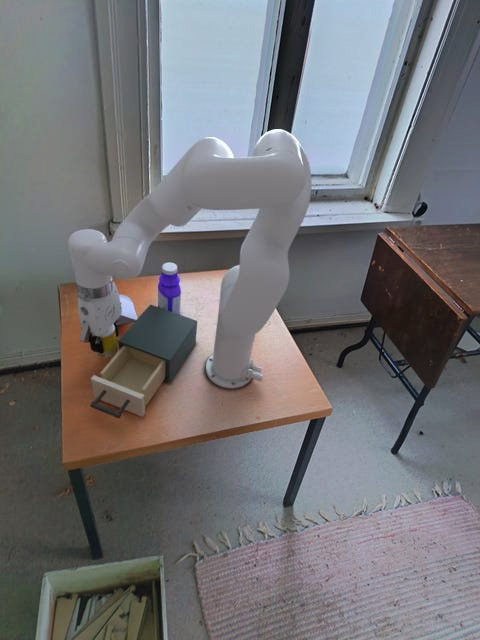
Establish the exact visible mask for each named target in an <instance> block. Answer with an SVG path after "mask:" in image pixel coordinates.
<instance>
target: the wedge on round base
mask: <svg viewBox="0 0 480 640" xmlns="http://www.w3.org/2000/svg"><path fill="white" fill-rule="evenodd" d="M119 297H120V302H121V308H122V313H121V315H120V317H119V318H118V323H117V326H120V325H125V324H130V323H131V324H133V323H134V322H135V321H136V320H137V319H138V318H139V316H138V315H137V312H136V309H135V306H134V303H133V301H132V299H131V298H130V296H129V297H128V296H127V295H124V294H119Z"/></svg>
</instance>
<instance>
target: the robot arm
mask: <svg viewBox="0 0 480 640" xmlns="http://www.w3.org/2000/svg"><path fill="white" fill-rule="evenodd" d="M311 195H312V173H311V166H310V162H309V159H308V157H307V154H306V151H305V150H304V148H303V146H302V145H301V143H300V142H299V140H298V139H297V138H296V137H295V136H294V135H293V134H292V133H290V132H289V131H286V130H284V129H278V128H277V129H271V130H269V131H267V132H264V134H263V135H262V136H260V138H259V139H258V141H257V142H256V144H255V146H254V149H253V151H252V156H242V157H240V156H239V157H234V154H233V152H232V149H230V147H229V145H228V144H226V143H225V142H224V141H223V140H221V139H220V138H217V137H213V136H208V137H204V138H201V139H199V140H198V141H196V142H195V143H194V144H192V146H191V147H190V148H189V149H188V150H187V151H186V152H185V153H184V154H183V156H182V157H181V158H180V159H179V160H178V162H177V163H176V164H175V165H174V166H172V168H171V169H170V171H169V172H168V173H167V174H166V175H165V176H164V177H163V178H162V180H161V181H160V182H159V183H158V184H157V185H156V187H155V188H154V189H153V190H152V191H151V192H149V193H148V194H147V195H146V196H145V197H144V198H142V199H141V200H140V202H138V204H136V205H135V207H134V208H133V209H132V210H131V211H130V212H129V214H128V215H127V216H126V217H125V218H124V219H123V221H122V222H121V223H120V224H119V225H118V227H117V228H116V230H115V232H114V234H113V236H112V238H111V240H110V241H108V239H107V237H106V236H105V234H104V233H103V232H101V231H100V230H97V229H93V228H83V229H79V230H76V231H75V232H73V233H71V235H69V237H68V240H67V246H68V247H67V248H68V253H69V256H70V261H71V267H72V271H73V276H74V280H75V284H76V289H77V294H76V296H77V310H78V318H79V319H78V320H79V323H80V324H79V325H80V328H81V332H80V335H79V338H78V341H79V342H81V343H86V344H88V343H89V345H90V350H91V351H92V352H98V353H101V354H103V352H104V349H103V343H102V341H101V340H100V336H101V335H103V334H104V333H105V332H106V331H107V330H108V329H109V328H110V327H111V326H112V325H113V324H114V326H115V332H116V338H117V337H119V336H120V334H119V327H118V325H117V323H118V318H119V317H120V315H121V313H122V308H121V302H120V297H119V295H120V294H119V290H118V287H117V285H116V283H115V281H113V277H114V278H117V279H121V280H133V279H134V278H137V277H138V276H139V275H140V274H141V272H142V270H143V267H144V264H145V261H146V257H147V254H148V251H149V248H150V246H151V244H152V243H153V241H154V240H156V239H157V238H158V236H159V235H160V234H161V233H162V232H163V231H164V230H166V228H168V227H169V226H170V225H171V226H173V227H179V228H180V227H184V226H186V225H187V224H188V223H189V222H190V221H191V220H192V219H194V217H195V216H196V215H197V214H198V213H199V212H200V211H201V210H203V209H204V210H208V211H209V210H210V211H234V210H235V211H238V210H258V212H257V214H256V216H255V219H254V220H253V222H252V225H251V226H250V229H249V230H248V233H247V235H246V237H245V238H244V240H243V242H242V244H241V247H240V251H239V264H238V265H234V266H233V267H231V268H229V270H227V272H225V274H224V276H223V278H222V279H221V280H222V281H221V284H220V295H219V302H218V303H219V305H218V312H217V313H218V314H217V320H216V321H217V322H216V330H215V337H214V338H215V339H214V345H213V353H212V354H210V356H209V357H208V358H207V359H206V362H205V372H206V375H207V377H208V379H209V380H210V381H211V382H212V383H214V384H215V385H217V386H219V387H221V388H225V389H238V388H241V387H244V386H245V385H247V384H248V383H249V382H250V381H251V379H253V380H256V381H258V382H260V383H262V382H263V380H264V377H265V374H262V373H261V372H262V371H263V367H262V366H259V365H256V364H255V363H253V361H254V357H252V352H253V348H254V342H255V338H256V334H258V333H259V332H260V331H262V329H263V328H264V327H265V326H266V325H267V323H268V321H269V320H270V318H271V317H272V316H273V313H275V310H276V309H277V307H278V305H279V303H280V302H281V300H282V299H283V297H284V295H285V293H286V291H287V289H288V286H289V282H290V265H289V251H290V248H291V245H292V244H293V242H294V239H295V238H296V236H297V234H298V231H299V230H300V228H301V226H302V223H303V222H304V219H305V217H306V215H307V211H308V208H309V205H310V201H311ZM92 333H93V334H94V335H95V337H93V336H92Z"/></svg>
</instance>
